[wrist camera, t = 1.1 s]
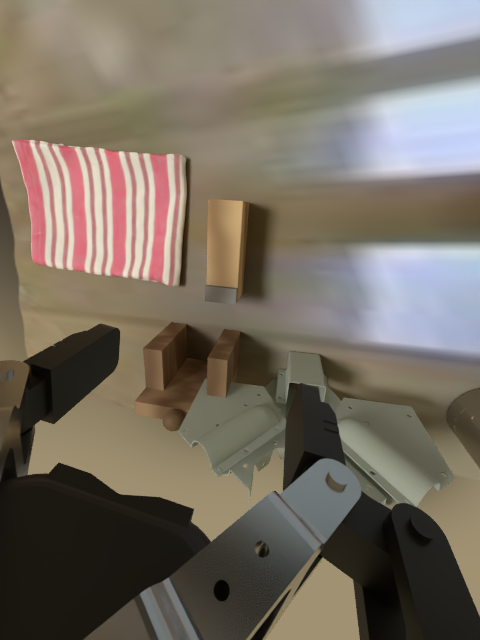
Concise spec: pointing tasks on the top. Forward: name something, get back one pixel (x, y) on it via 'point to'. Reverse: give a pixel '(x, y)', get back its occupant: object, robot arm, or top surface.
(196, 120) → the top surface
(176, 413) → the wooden block holder
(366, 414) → the bracket
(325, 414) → the robot arm
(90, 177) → the dish towel
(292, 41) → the top surface
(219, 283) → the tan rectangular block
